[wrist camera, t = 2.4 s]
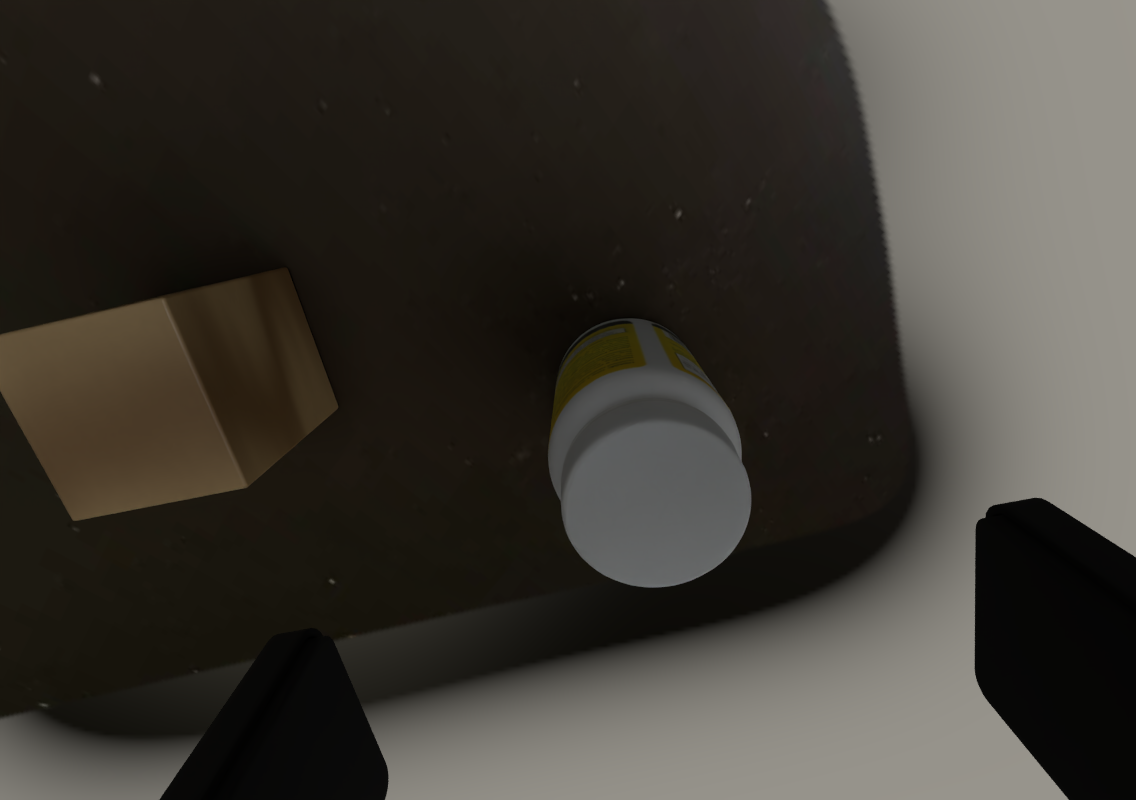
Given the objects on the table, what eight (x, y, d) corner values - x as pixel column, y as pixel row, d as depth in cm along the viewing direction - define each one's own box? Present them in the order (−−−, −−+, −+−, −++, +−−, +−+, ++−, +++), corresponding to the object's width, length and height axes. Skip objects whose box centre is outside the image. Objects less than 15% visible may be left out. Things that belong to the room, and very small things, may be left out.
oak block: (148, 298, 20) (-30, 341, 14) (288, 266, 19) (162, 296, 13) (209, 434, 21) (72, 522, 15) (340, 407, 21) (247, 488, 15)
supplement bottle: (546, 435, 21) (522, 583, 13) (569, 303, 19) (559, 381, 11) (678, 458, 21) (736, 619, 13) (712, 329, 19) (802, 424, 11)
